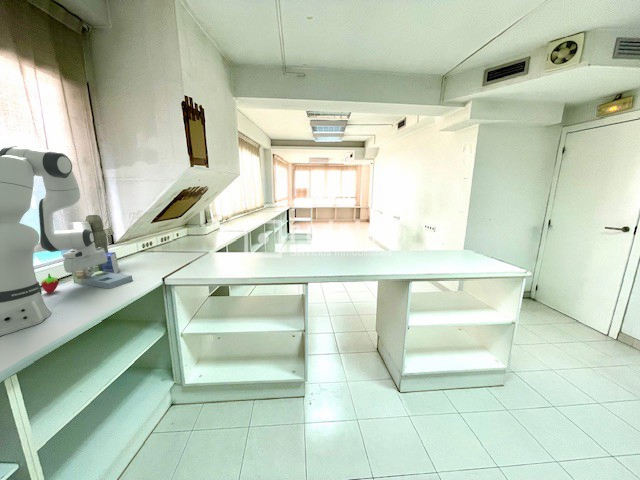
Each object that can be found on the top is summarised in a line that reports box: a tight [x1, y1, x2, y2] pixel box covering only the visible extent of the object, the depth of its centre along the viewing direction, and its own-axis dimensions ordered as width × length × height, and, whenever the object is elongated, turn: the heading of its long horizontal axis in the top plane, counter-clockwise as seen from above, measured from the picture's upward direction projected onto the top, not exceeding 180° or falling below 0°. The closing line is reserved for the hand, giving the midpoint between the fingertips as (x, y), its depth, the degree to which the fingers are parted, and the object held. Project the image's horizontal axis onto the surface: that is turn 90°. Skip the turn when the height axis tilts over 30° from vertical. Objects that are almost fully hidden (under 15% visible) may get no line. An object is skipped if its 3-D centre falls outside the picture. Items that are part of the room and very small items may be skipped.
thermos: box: [84, 214, 109, 271], centre depth 156 cm, size 9×12×35 cm
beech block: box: [76, 270, 91, 279], centre depth 138 cm, size 4×4×4 cm
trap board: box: [71, 266, 134, 289], centre depth 140 cm, size 12×28×6 cm, turn 71°
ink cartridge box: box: [102, 250, 120, 273], centre depth 153 cm, size 10×6×14 cm, turn 25°
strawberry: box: [40, 273, 60, 294], centre depth 125 cm, size 6×7×10 cm
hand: (90, 275), depth 139 cm, fingers closed, pressing on beech block
